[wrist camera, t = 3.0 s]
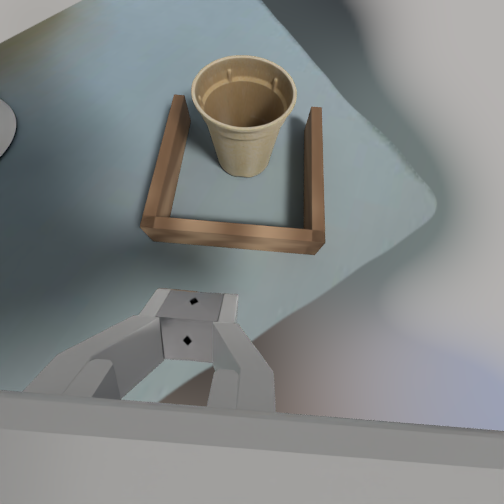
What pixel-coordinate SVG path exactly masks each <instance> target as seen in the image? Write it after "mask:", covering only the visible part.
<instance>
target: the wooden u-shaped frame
mask: <svg viewBox="0 0 504 504" xmlns="http://www.w3.org/2000/svg"><path fill="white" fill-rule="evenodd" d="M190 122H191V120H190V116H189V112H188V108H187V104H186V100H185V96H184V95H174V97H173V101H172V105H171V108H170V112H169V116H168V120H167V124H166V128H165V132H164V135H163V139H162V143H161V147H160V151H159V155H158V159H157V162H156V166H155V170H154V174H153V178H152V182H151V185H150V189H149V193H148V197H147V201H146V205H145V209H144V212H143V216H142V220H141V224H140V228H141V229H142V230H143V231H144V232H145V233H146V234H147V235H148V236H149V237H150V238H151V240H152V241H156V242H168V243H180V244H191V245H203V246H215V247H227V248H239V249H250V250H262V251H274V252H286V253H298V254H309V255H315V254H316V253H317V252H318V251H319V249H320V248H321V247H322V246H323V245H324V244H325V214H324V177H323V140H322V108H321V107H311V110H310V113H309V116H308V120H307V123H306V127H305V130H304V229H297V228H285V227H273V226H261V225H250V224H238V223H226V222H214V221H203V220H191V219H179V218H170V214H171V210H172V205H173V200H174V196H175V191H176V186H177V182H178V177H179V173H180V168H181V163H182V159H183V154H184V150H185V145H186V140H187V136H188V131H189V126H190Z"/></svg>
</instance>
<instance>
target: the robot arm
mask: <svg viewBox="0 0 504 504" xmlns="http://www.w3.org/2000/svg"><path fill="white" fill-rule="evenodd" d="M15 130H16V118H15V115H14V112H13V110H12V109H11V108H10V106H9V105H8V104H6V103H5V102H4V101H3V100H1V99H0V156H1V155H2V154H3V153H4V152H5V151H6V149H7V148H8V146H9V145H10V143H11V141H12V139H13V137H14V134H15ZM237 311H238V294H226V293H225V294H221V293H206V292H197V291H188V290H178V289H167V288H158V289H157V290H156V291H155V292H154V294H153V295H152V297H151V298H150V299H149V301H148V302H147V304H146V305H145V307H144V308H143V309H142V311H141V312H140V314H139V315H133V316H131V317H130V318H128V319H126V320H124V321H122V322H120V323H118V324H116V325H114V326H112V327H110V328H108V329H106V330H104V331H102V332H100V333H98V334H96V335H94V336H92V337H90V338H88V339H86V340H85V341H83V342H81V343H79V344H77V345H75V346H73V347H71V348H69V349H67V350H65V351H63V352H61V353H59V354H57V356H56V357H55V358H54V359H53V360H52V361H51V362H50V363H49V364H48V365H47V366H46V367H45V368H44V369H43V370H42V371H41V372H40V373H39V374H38V376H37V377H36V378H35V379H34V380H33V381H32V382H31V383H30V384H29V385H28V386H27V387H26V388H25V389H24V390H23V391H22V392H19V391H7V390H0V504H504V431H498V430H484V429H473V428H461V427H449V426H436V425H424V424H411V423H398V422H387V421H375V420H362V419H350V418H338V417H326V416H313V415H302V414H289V413H277V412H276V406H275V388H274V372H273V371H272V369H271V368H270V367H269V365H268V364H267V363H266V361H265V360H264V358H263V357H262V356H261V354H260V353H259V352H258V350H257V349H256V347H255V346H254V345H253V343H252V342H251V341H250V339H249V338H248V336H247V335H246V334H245V332H244V331H243V330H242V328H241V327H240V325H239V324H237ZM164 359H172V360H190V361H199V362H208V363H213V367H214V369H215V372H214V376H213V381H212V385H211V390H210V395H209V399H208V404H207V407H203V406H191V405H179V404H165V403H154V402H142V401H130V400H121V399H122V398H123V397H124V396H125V395H126V394H127V393H128V392H129V391H130V390H132V389H133V388H134V387H135V386H136V385H137V384H138V383H139V382H140V381H142V380H143V379H144V378H145V377H146V376H147V375H148V374H149V373H150V372H152V371H153V370H154V369H155V368H156V367H157V366H158V365H159V364H160V363H162V362H163V361H164Z"/></svg>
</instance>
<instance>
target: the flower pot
mask: <svg viewBox="0 0 504 504" xmlns="http://www.w3.org/2000/svg"><path fill="white" fill-rule="evenodd" d="M191 95H192V100H193V103H194V105H195V107H196V109H197V110H198V112H199V113H200V114H201V115H202V117H203V119H204V121H205V122H206V124H207V125H208V128H209V132H210V135H211V138H212V141H213V144H214V147H215V150H216V153H217V157H218V160H219V163H220V165H221V167H222V168H223V169H224V170H225V171H226V172H227V173H229V174H231V175H233V176H243V177H253V176H255V175H258V174H259V173H261V172H262V171H263V170H264V169H265V168H266V167H267V165H268V163H269V160H270V156H271V153H272V150H273V147H274V144H275V141H276V138H277V135H278V133H279V130H280V127H281V126H282V124H283V123H284V121H285V119H286V117H287V116H288V115H289V114H290V113H291V111H292V110H293V108H294V105H295V103H296V97H297V91H296V86H295V83H294V81H293V79H292V77H291V76H290V75H289V74H288V73H287V71H286V70H284V69H283V68H282V67H281V66H279V65H277V64H275V63H273V62H271V61H269V60H266V59H264V58H260V57H256V56H248V55H236V56H228V57H224V58H221V59H218V60H215V61H213V62H211V63H210V64H208V65H207V66H205V67H204V68H203V69H202V70H200V72H199V73H198V75H197V76H196V77H195V78H194V80H193V83H192V88H191Z"/></svg>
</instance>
